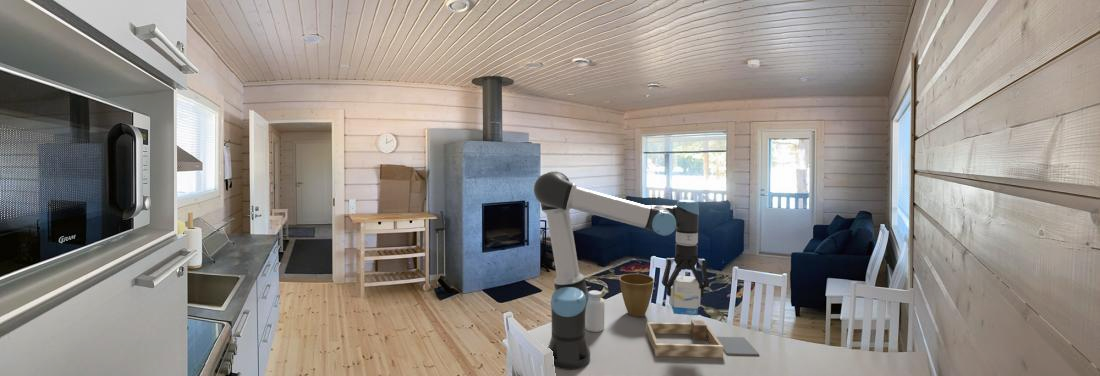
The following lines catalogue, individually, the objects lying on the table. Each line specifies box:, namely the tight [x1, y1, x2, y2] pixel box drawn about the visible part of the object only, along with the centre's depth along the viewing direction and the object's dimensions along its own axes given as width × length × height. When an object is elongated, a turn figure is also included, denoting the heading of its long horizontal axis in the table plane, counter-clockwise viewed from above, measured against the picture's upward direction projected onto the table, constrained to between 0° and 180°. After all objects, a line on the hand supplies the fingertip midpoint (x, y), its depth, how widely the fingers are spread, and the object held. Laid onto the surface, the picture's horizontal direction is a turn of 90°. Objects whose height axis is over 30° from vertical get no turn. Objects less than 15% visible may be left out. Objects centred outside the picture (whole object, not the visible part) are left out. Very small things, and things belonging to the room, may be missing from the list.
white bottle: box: [585, 289, 605, 333], centre depth 165 cm, size 8×8×15 cm
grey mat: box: [716, 336, 760, 357], centre depth 149 cm, size 11×13×1 cm
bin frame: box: [646, 321, 724, 359], centre depth 151 cm, size 23×19×4 cm
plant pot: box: [619, 273, 655, 318], centre depth 179 cm, size 15×15×16 cm
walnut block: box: [690, 319, 708, 342], centre depth 156 cm, size 4×4×6 cm
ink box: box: [671, 275, 699, 316], centre depth 147 cm, size 9×8×12 cm
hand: (684, 304), depth 147 cm, fingers closed on ink box, 9 cm apart
